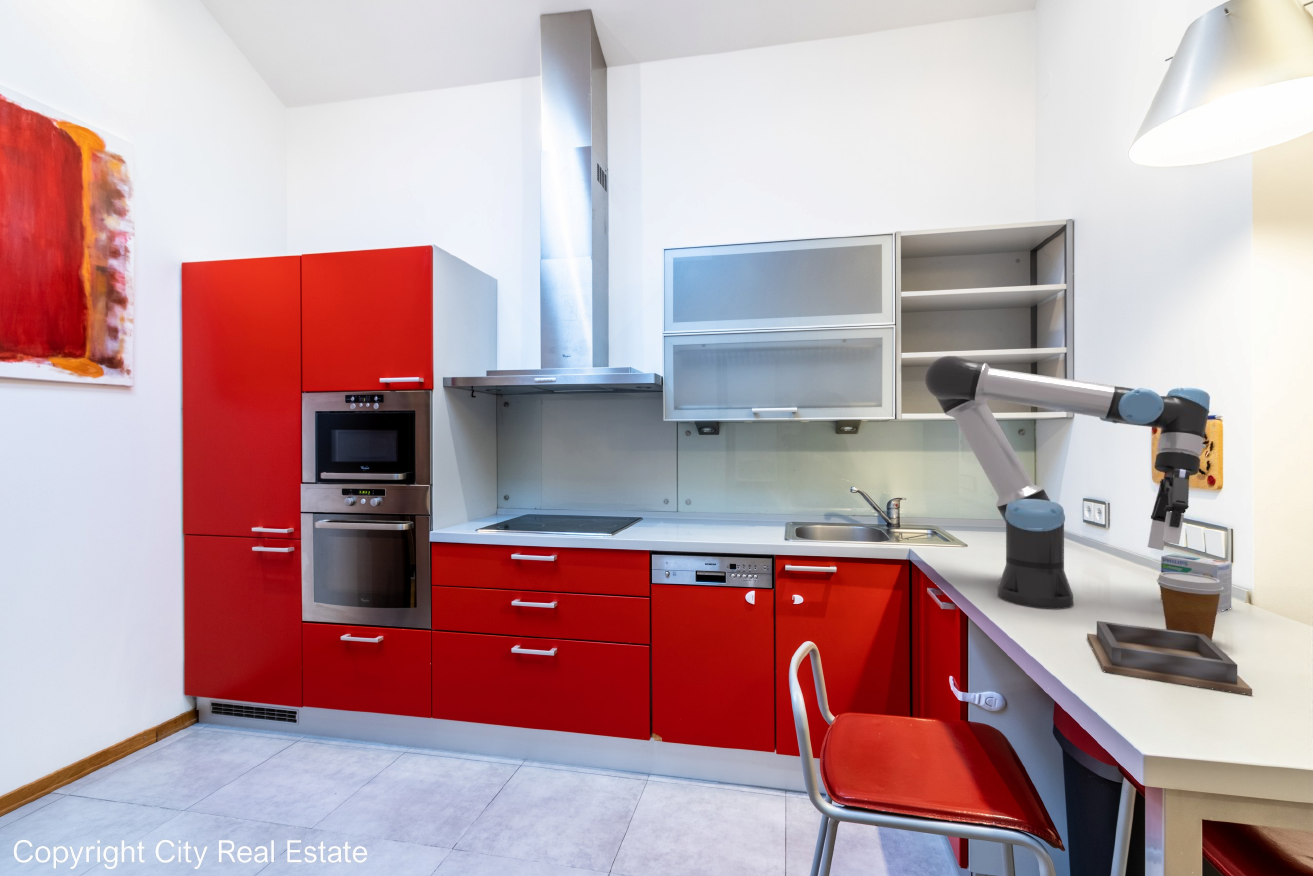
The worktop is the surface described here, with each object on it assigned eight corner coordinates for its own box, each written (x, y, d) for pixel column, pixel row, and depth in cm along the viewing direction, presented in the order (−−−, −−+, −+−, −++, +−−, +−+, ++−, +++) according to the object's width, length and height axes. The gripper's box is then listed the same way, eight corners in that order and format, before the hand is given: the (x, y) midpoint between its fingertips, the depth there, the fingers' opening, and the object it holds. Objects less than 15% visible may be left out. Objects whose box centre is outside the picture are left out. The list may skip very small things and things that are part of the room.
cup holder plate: (1103, 671, 96) (1103, 648, 96) (1087, 638, 112) (1087, 617, 112) (1252, 695, 87) (1252, 669, 87) (1211, 655, 103) (1211, 633, 103)
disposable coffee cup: (1158, 641, 110) (1158, 578, 110) (1154, 627, 118) (1154, 569, 118) (1228, 652, 105) (1228, 586, 105) (1218, 637, 112) (1218, 575, 112)
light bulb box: (1159, 600, 137) (1159, 555, 137) (1174, 597, 140) (1174, 552, 140) (1218, 613, 127) (1218, 564, 127) (1233, 609, 130) (1233, 561, 130)
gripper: (1218, 444, 119) (1201, 544, 117) (1184, 469, 140) (1170, 555, 137) (1170, 438, 123) (1153, 534, 121) (1145, 463, 144) (1130, 546, 141)
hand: (1162, 545), depth 129 cm, fingers open, 13 cm apart
